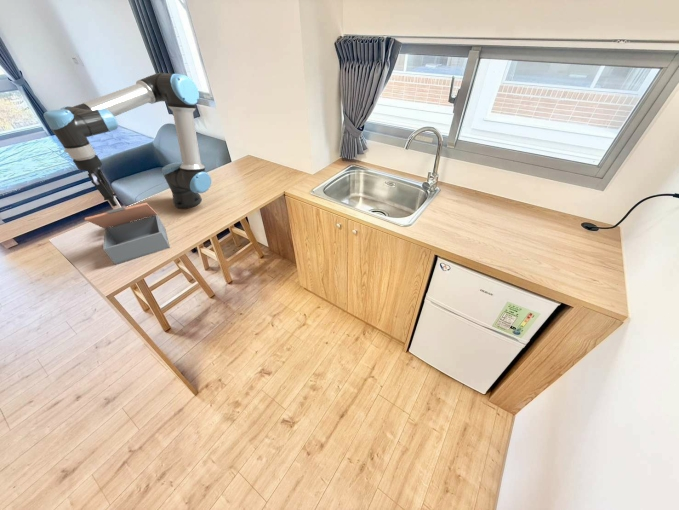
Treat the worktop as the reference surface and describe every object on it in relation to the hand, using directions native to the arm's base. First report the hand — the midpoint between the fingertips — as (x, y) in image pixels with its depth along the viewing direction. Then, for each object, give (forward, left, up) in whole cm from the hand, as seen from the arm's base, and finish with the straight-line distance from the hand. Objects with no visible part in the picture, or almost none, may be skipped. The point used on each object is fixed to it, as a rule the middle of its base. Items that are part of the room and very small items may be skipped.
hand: (119, 211), depth 114 cm
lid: (-2, 0, -4) cm, 4 cm away
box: (0, 0, -20) cm, 20 cm away
